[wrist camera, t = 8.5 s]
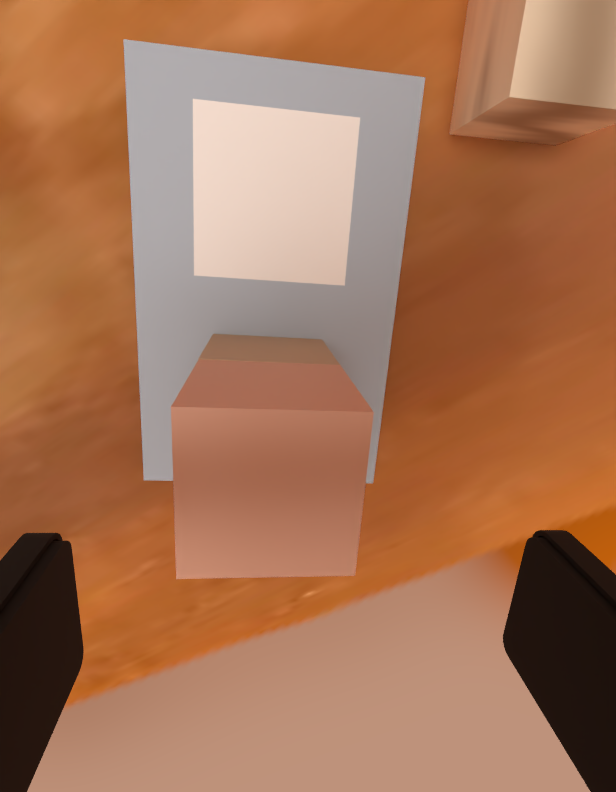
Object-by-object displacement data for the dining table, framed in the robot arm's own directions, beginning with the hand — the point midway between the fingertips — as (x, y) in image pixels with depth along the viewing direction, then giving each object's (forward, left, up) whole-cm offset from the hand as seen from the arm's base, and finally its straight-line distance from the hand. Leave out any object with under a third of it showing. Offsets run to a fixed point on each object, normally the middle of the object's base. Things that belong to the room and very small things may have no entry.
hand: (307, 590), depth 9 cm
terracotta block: (+1, +1, -11) cm, 11 cm away
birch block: (-11, -16, -18) cm, 27 cm away
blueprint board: (+1, -4, -18) cm, 18 cm away
